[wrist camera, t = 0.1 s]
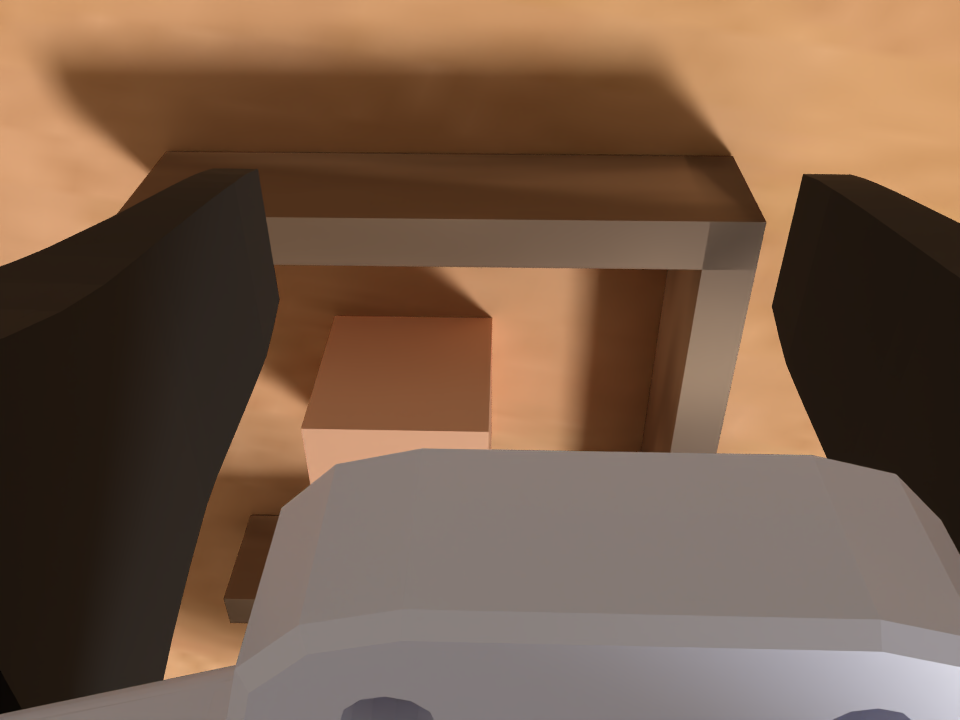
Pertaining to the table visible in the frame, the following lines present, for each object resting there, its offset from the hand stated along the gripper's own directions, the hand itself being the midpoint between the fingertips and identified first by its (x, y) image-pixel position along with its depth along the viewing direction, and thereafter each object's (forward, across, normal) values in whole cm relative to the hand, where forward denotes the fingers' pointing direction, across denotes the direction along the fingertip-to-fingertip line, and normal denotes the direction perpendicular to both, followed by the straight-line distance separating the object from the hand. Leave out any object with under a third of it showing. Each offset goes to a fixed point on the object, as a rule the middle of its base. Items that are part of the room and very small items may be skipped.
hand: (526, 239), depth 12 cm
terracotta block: (+10, +3, +10) cm, 15 cm away
